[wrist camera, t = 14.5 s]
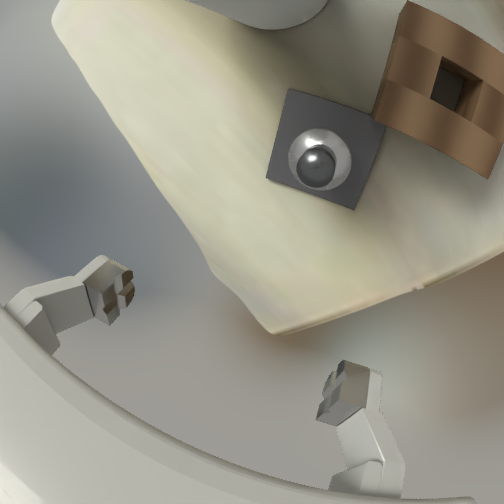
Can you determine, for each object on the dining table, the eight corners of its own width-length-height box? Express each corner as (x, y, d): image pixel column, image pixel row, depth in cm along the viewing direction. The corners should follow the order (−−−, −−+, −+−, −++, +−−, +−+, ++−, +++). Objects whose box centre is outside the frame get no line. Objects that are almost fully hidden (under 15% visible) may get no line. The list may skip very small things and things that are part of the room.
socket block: (500, 69, 18) (523, 69, 13) (469, 164, 26) (487, 179, 21) (399, 14, 20) (407, 0, 15) (370, 115, 28) (374, 120, 23)
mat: (386, 122, 28) (387, 122, 27) (354, 208, 35) (353, 210, 34) (289, 88, 30) (288, 88, 29) (267, 176, 37) (265, 177, 36)
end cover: (358, 134, 29) (361, 149, 22) (341, 183, 33) (337, 212, 26) (305, 116, 30) (290, 125, 23) (291, 165, 34) (272, 189, 27)
